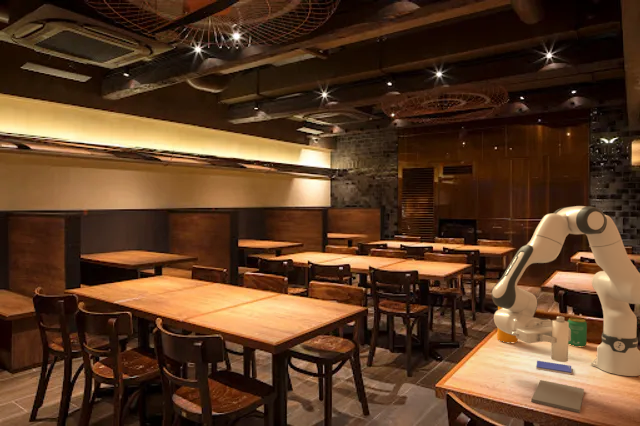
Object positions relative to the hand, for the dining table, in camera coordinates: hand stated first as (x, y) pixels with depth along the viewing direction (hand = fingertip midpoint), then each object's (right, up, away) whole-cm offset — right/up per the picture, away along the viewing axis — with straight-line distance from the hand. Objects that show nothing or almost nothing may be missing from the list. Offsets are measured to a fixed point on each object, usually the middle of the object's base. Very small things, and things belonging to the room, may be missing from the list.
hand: (562, 339), depth 155 cm
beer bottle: (+8, -19, +65) cm, 68 cm away
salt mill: (0, -7, +1) cm, 7 cm away
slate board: (-1, -20, +1) cm, 20 cm away
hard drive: (+12, -20, +28) cm, 37 cm away
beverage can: (+39, -19, +60) cm, 74 cm away
